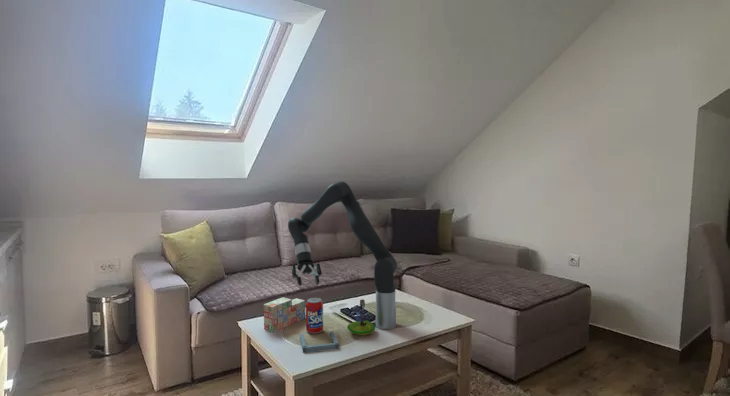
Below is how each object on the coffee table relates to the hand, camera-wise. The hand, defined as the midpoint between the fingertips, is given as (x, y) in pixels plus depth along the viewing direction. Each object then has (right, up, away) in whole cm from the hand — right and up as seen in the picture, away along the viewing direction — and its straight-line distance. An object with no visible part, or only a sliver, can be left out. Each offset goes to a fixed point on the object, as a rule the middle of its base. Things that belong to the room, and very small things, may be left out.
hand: (309, 284), depth 210 cm
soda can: (+4, -20, -7) cm, 22 cm away
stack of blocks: (-12, -20, +2) cm, 23 cm away
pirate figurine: (+25, -21, -10) cm, 34 cm away
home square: (+7, -21, -20) cm, 30 cm away
